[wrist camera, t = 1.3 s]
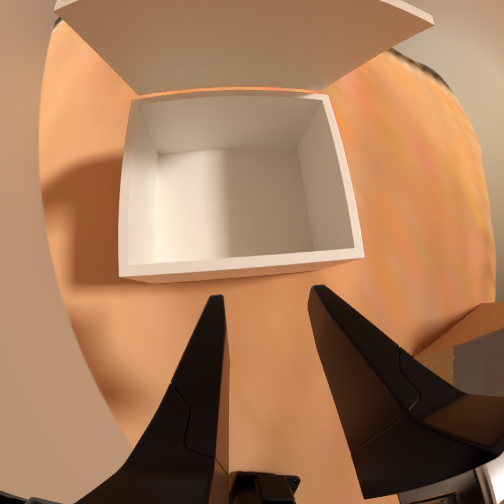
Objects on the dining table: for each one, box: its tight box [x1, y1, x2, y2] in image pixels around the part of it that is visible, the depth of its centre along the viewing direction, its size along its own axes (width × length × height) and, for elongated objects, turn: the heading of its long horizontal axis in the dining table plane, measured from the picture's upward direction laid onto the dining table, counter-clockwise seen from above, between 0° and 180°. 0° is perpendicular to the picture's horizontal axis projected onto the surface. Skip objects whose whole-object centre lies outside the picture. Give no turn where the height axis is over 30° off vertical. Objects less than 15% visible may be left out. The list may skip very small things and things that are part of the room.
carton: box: [118, 90, 364, 284], centre depth 19 cm, size 12×14×8 cm
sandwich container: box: [413, 302, 504, 396], centre depth 16 cm, size 9×15×15 cm, turn 109°
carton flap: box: [54, 0, 434, 95], centre depth 10 cm, size 12×13×1 cm
